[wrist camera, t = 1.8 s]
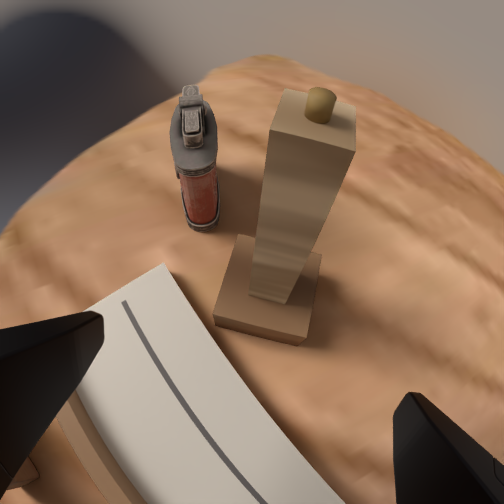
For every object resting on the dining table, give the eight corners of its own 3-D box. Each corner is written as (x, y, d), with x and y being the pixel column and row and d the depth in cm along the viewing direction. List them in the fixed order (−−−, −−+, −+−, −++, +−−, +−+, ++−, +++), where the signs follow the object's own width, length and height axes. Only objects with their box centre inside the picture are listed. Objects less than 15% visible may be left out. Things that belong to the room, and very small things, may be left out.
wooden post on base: (297, 346, 21) (434, 202, 6) (215, 325, 21) (177, 136, 6) (312, 272, 24) (405, 81, 9) (237, 253, 24) (247, 41, 9)
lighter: (181, 164, 28) (167, 76, 19) (215, 160, 29) (212, 71, 20) (183, 234, 24) (162, 142, 16) (224, 229, 25) (222, 135, 16)
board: (354, 514, 14) (373, 528, 11) (221, 587, 11) (220, 610, 8) (167, 270, 23) (157, 249, 20) (47, 344, 19) (23, 334, 16)
